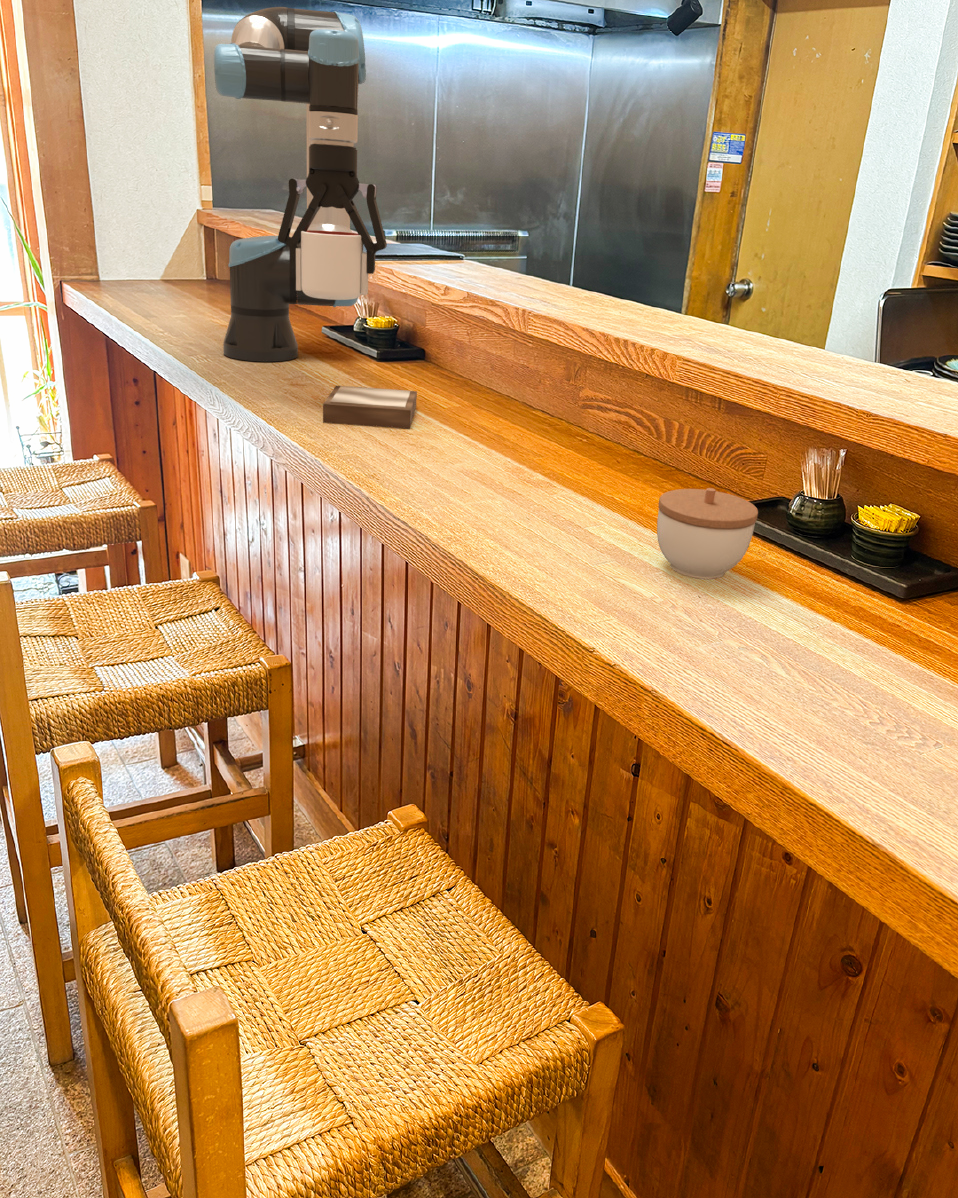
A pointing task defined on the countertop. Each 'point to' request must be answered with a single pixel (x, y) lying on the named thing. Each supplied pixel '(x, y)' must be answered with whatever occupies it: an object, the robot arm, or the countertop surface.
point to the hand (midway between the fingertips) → (332, 291)
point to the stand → (370, 407)
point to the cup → (331, 264)
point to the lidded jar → (704, 531)
